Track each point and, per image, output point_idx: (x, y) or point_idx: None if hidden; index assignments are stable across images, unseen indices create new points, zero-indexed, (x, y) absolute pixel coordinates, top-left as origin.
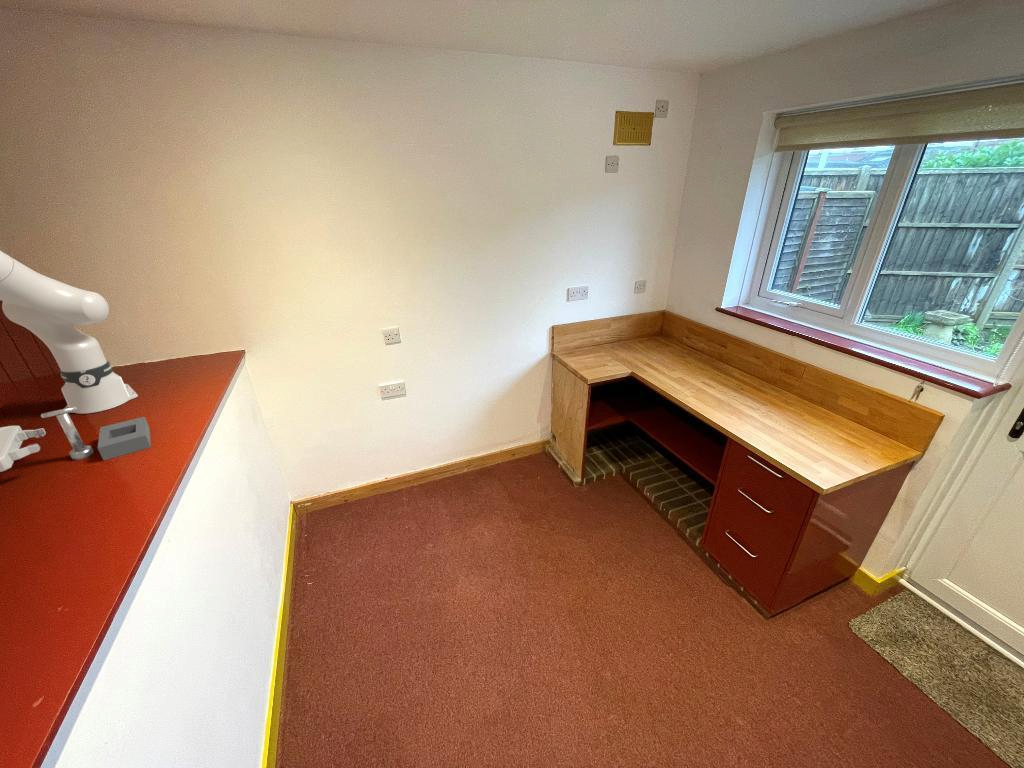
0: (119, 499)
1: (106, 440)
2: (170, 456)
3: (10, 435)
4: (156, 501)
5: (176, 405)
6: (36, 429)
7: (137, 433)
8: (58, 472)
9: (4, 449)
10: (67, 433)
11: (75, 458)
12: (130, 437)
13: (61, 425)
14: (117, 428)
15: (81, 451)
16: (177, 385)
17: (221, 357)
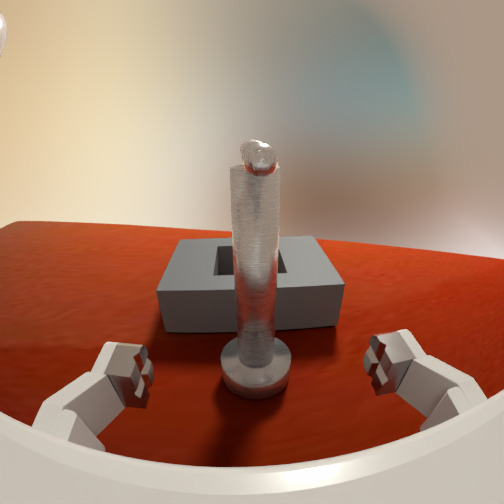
0: (481, 283)
1: (296, 275)
2: (363, 253)
3: (124, 479)
4: (478, 259)
5: (104, 251)
6: (97, 360)
7: (289, 242)
8: (359, 415)
9: (487, 412)
10: (275, 278)
11: (285, 381)
12: (307, 248)
13: (270, 235)
14: (213, 265)
15: (276, 351)
16: (23, 251)
17: (7, 228)
